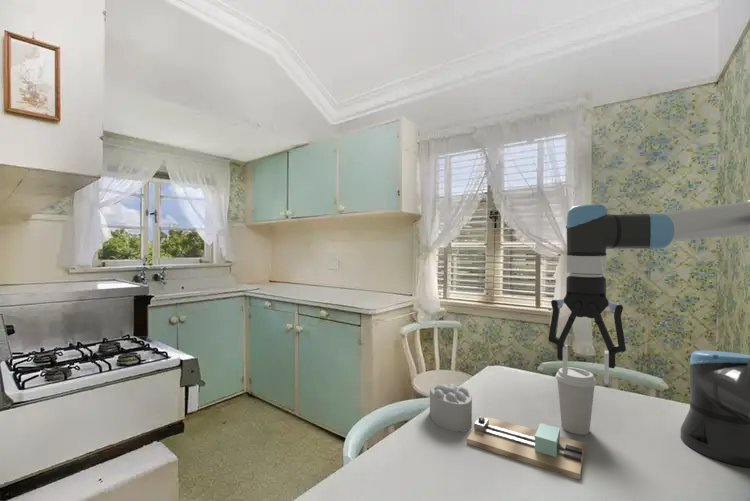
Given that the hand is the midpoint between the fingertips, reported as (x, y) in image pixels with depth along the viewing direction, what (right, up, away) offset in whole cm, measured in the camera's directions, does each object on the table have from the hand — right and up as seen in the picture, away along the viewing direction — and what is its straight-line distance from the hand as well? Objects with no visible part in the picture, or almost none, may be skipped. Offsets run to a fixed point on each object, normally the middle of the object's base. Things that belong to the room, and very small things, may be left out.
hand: (585, 377), depth 77 cm
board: (-10, -19, +7) cm, 23 cm away
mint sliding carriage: (-6, -18, +4) cm, 19 cm away
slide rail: (-10, -18, +7) cm, 22 cm away
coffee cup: (+7, -19, +15) cm, 25 cm away
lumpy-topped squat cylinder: (-25, -19, +20) cm, 37 cm away
